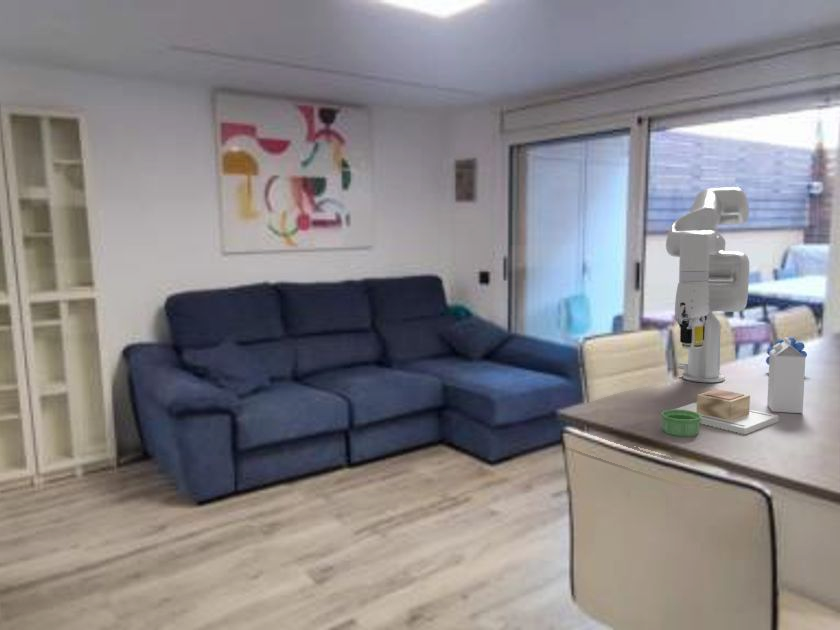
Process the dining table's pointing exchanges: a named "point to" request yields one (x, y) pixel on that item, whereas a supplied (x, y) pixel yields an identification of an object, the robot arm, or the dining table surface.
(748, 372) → the dining table surface
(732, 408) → the oak plinth
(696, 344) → the supplement bottle
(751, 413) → the white cutting board
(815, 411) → the dining table surface
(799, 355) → the milk carton
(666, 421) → the ramekin
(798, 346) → the grapes
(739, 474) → the dining table surface
